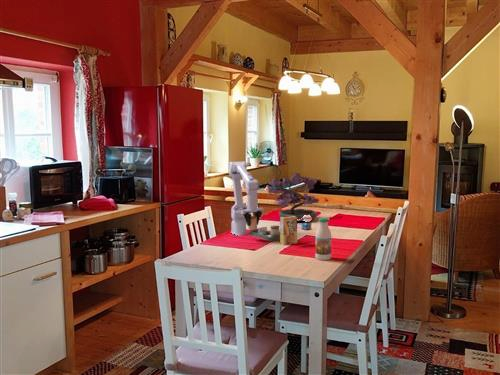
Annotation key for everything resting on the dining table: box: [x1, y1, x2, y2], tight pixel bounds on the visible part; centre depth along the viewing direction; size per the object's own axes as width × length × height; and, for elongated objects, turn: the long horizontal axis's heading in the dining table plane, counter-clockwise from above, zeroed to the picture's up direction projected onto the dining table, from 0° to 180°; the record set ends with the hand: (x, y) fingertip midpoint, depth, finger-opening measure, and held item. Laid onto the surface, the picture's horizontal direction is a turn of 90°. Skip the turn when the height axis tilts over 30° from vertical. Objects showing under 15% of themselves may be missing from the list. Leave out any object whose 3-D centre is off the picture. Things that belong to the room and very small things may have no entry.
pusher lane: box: [249, 227, 280, 242], centre depth 282 cm, size 22×12×4 cm, turn 36°
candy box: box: [279, 216, 298, 246], centre depth 265 cm, size 9×4×15 cm, turn 116°
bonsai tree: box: [267, 172, 320, 221], centre depth 335 cm, size 35×27×32 cm
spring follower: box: [257, 226, 268, 235], centre depth 288 cm, size 4×6×4 cm, turn 126°
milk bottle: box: [314, 217, 332, 261], centre depth 236 cm, size 8×8×20 cm
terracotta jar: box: [248, 215, 258, 230], centre depth 273 cm, size 5×5×7 cm
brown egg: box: [270, 225, 280, 237], centre depth 277 cm, size 5×5×7 cm
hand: (252, 225), depth 273 cm, fingers closed on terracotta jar, 5 cm apart
